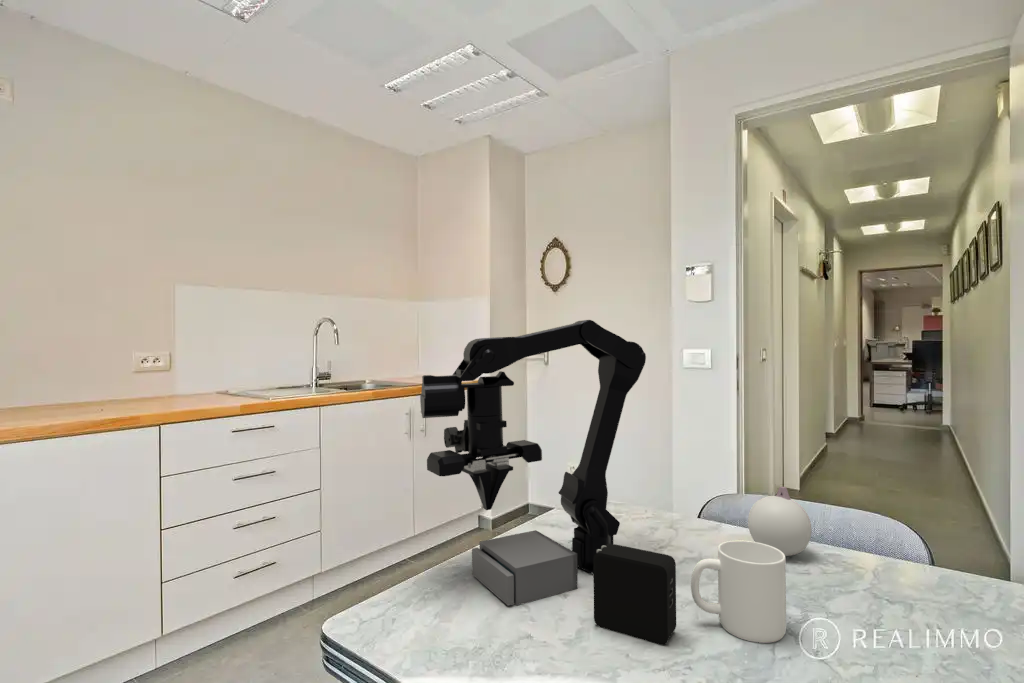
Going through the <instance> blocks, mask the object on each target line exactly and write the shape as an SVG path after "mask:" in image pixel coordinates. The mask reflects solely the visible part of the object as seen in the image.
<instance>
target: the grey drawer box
mask: <svg viewBox="0 0 1024 683" xmlns="http://www.w3.org/2000/svg"><path fill="white" fill-rule="evenodd" d="M479 549H480V550H481V551H483V552H484V553H485V554H487V555H488V556H489V557H491V558H492V559H493V560H494V559H497V560H498V561H500V562H501V563H502V564H504V565H505V566H506V567H508V568H509V569H510V570H512V571H513V572H514V604H513V605H515V606H520V605H523V604H527V603H531V602H534V601H537V600H541V599H544V598H548V597H552V596H555V595H559V594H562V593H566V592H569V591H574V590H577V589H578V586H579V585H578V583H579V582H578V566H577V553H575V552H573V551H572V550H571V549H570V548H568V547H566V546H564V545H562V544H561V543H559V542H557V541H556V540H554V539H552V538H550V537H549V536H546V535H545V534H543V533H541V532H540V531H539V530H529V531H526V532H521V533H515V534H511V535H506V536H501V537H496V538H490V539H486V540H485V539H484V540H480V541H479Z"/></svg>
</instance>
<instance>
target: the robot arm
mask: <svg viewBox="0 0 1024 683" xmlns="http://www.w3.org/2000/svg"><path fill="white" fill-rule="evenodd" d="M578 345H580V346H582V348H584V349H585V350H586V351H587V352H588V353H589V354H590V355H591V356H593V357H594V358H596V359H597V360H598V367H597V374H598V380H599V382H598V383H599V391H598V395H597V399H596V402H595V406H594V409H593V413H592V417H591V420H590V423H589V428H588V432H587V435H586V438H585V442H584V447H583V450H582V452H581V456H580V460H579V464H578V466H577V468H576V469H575V470H574V471H573V472H572V473H571V472H568V471H565V472H564V475H563V480H562V486H561V488H560V490H559V491H558V495H560V505H561V508H562V510H564V512H566V514H568V515H569V517H570V518H571V522H573V523H574V524H576V525H577V527H574V528H573V537H572V540H571V549H572V550H571V551H573V552H575V553H577V568H578V567H579V568H580V569H581V570H583V571H584V572H585V571H586V572H587V573H589V574H594V572H593V558H594V555H595V554H596V553H597V550H598V549H600V550H601V546H603V545H604V546H606V545H607V544H614V536H616V535H617V534H618V530H619V527H620V524H621V523H620V521H619V520H618V519H617V518H616V517H615V516H614V515H613V514H612V513H611V512H609V511H608V509H607V504H608V496H609V495H608V494H609V492H608V484H607V477H606V474H607V468H608V465H609V463H610V459H611V454H612V451H613V446H614V443H615V440H616V437H617V431H618V428H619V425H620V424H619V423H620V420H621V416H622V413H623V408H624V405H625V402H626V398H627V396H628V393H629V392H630V391H631V389H632V388H633V387H634V386H635V385H636V383H637V382H638V380H639V378H640V376H641V374H642V372H643V369H644V368H645V364H646V360H647V356H646V353H645V352H644V349H643V347H642V346H641V345H640V344H639V343H637V342H635V341H629V340H628V341H627V340H626V339H625V338H623V337H621V336H619V335H618V334H616V333H613V332H612V331H610V330H608V329H606V328H604V327H602V326H601V325H600V324H598V323H597V322H596V321H594V320H592V319H584V320H578V321H575V322H573V323H570V324H566V325H561V326H557V327H556V326H555V327H552V328H548V329H544V330H540V331H535V332H531V333H530V332H529V333H526V334H522V335H518V336H503V337H501V336H500V337H499V336H498V337H481V338H480V337H479V338H475V339H472V340H470V341H469V342H468V343H467V344H466V346H465V347H464V350H463V359H462V361H461V362H460V363H459V365H457V368H456V369H455V371H454V372H453V374H451V375H432V374H427V375H422V376H421V377H422V379H421V380H422V383H421V394H419V395H420V396H419V398H420V401H419V403H420V412H421V418H422V419H430V418H433V419H434V418H449V417H458V416H459V414H460V412H463V410H465V408H467V419H464V420H463V429H461V430H458V427H457V426H450V427H446V428H444V429H443V441H444V447H445V448H446V449H447V448H454V451H453V450H452V449H451V450H450V449H447V450H442V451H441V450H440V451H434V452H430V453H429V455H428V456H427V459H426V470H427V471H429V473H430V472H431V473H433V474H434V475H436V476H439V477H449V476H456V475H460V474H462V472H463V473H466V474H467V475H468V476H469V477H470V478H471V481H472V482H473V484H474V486H475V488H476V491H477V494H478V497H479V499H480V501H481V504H482V507H483V509H484V510H485V511H490V510H492V509H493V505H494V503H495V501H496V499H497V496H498V495H499V492H500V489H501V487H502V485H503V483H504V481H505V479H506V478H507V477H508V474H509V472H512V471H514V466H512V465H510V460H511V459H518V458H522V459H523V461H525V463H534V462H535V463H536V462H542V461H543V450H542V448H541V446H540V444H539V443H537V442H533V441H530V440H525V439H522V440H514V441H508V442H507V443H506V445H504V431H503V430H504V428H507V426H508V425H507V420H503V395H502V394H503V393H502V392H503V390H502V387H512V386H514V385H515V381H513V380H512V379H511V378H510V377H508V376H507V374H506V372H505V371H500V370H502V369H505V368H507V367H510V366H511V365H512V364H514V363H516V362H519V361H521V360H523V359H524V358H528V357H532V356H536V355H541V354H544V353H549V352H554V351H556V350H562V349H565V348H569V347H574V346H578ZM497 371H499V372H497ZM495 372H497V374H496V375H491V376H482V375H483V374H492V373H495ZM477 379H478V380H477ZM475 380H477V382H472V381H475ZM463 382H467V383H463ZM468 382H469V383H468ZM466 400H467V401H466ZM466 406H467V407H466ZM462 452H467V453H462Z"/></svg>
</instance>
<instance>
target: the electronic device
mask: <svg viewBox="0 0 1024 683" xmlns="http://www.w3.org/2000/svg"><path fill="white" fill-rule="evenodd" d="M676 566H677V565H676V559H675V558H674V557H673V556H671V555H669V554H665V553H659V552H655V551H649V550H647V549H646V550H645V549H640V548H635V547H630V546H625V545H620V544H616V543H613V544H607V545H606V546H604V545H603V546H601V550H600V549H598V550H597V553H596V554H595V555H594V558H593V572H594V573H593V619H594V620H593V621H594V623H595V625H596V626H597V627H599V628H601V629H604V630H608V631H611V632H616V633H618V634H622V635H626V636H629V637H633V638H636V639H639V640H643V641H645V642H650V643H653V644H656V645H659V646H665V645H666V644H667V643H668V642H669V640H670V639H671V637H672V635H673V633H674V631H675V630H676V628H677V575H676V574H677V571H676V570H677V568H676Z"/></svg>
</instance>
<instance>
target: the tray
mask: <svg viewBox="0 0 1024 683" xmlns="http://www.w3.org/2000/svg"><path fill="white" fill-rule="evenodd" d="M471 574H472V576H473V577H475V578H476V579H477V581H479V582H480V583H481V584H483V585H484V586H485V587H486V588H487V589H489V591H490V592H492V593H493V594H494V596H496V597H497V598H498V599H500V600H501V601H502V602H503V603H504V604H505V605H507V606H508V607H509V606H513V605H515V604H514V575H513V574H512V573H510V572H509V571H508V570H506V569H505V568H504V567H502V566H501V565H500V564H498V563H497V559H494V560H493V559H492V558H491V557H489V556H488V555H487V554H485V553H484V552H483V551H481V550H480V547H473V548H471Z"/></svg>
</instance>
